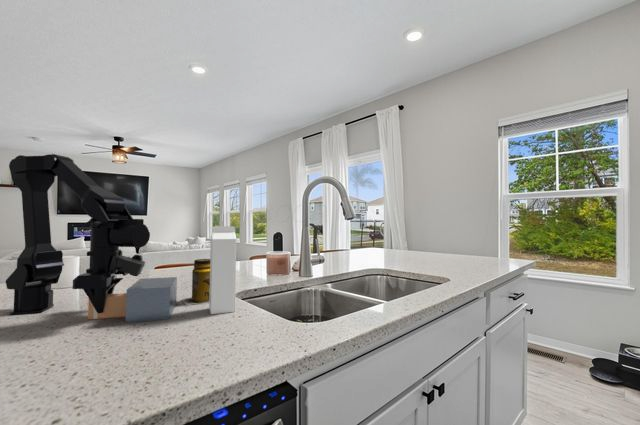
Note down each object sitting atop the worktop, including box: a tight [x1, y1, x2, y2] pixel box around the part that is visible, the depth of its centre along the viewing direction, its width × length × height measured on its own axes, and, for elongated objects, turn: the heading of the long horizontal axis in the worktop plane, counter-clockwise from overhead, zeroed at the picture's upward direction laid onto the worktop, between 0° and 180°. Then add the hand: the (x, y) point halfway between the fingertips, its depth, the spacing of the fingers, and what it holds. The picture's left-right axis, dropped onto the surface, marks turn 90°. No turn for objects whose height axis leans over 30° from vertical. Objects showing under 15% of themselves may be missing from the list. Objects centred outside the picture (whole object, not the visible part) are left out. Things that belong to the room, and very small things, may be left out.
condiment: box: [181, 258, 210, 306], centre depth 89 cm, size 7×8×12 cm
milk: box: [208, 225, 237, 315], centre depth 80 cm, size 6×6×22 cm
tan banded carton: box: [87, 292, 127, 320], centre depth 75 cm, size 14×3×5 cm, turn 109°
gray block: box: [125, 276, 178, 324], centre depth 77 cm, size 10×14×8 cm
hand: (102, 310), depth 74 cm, fingers closed on tan banded carton, 3 cm apart
